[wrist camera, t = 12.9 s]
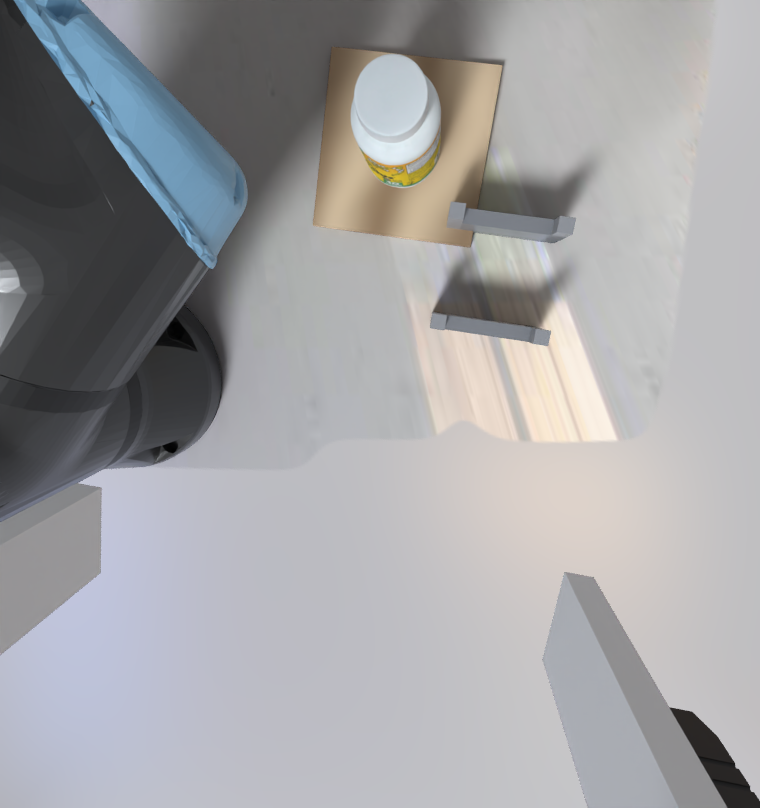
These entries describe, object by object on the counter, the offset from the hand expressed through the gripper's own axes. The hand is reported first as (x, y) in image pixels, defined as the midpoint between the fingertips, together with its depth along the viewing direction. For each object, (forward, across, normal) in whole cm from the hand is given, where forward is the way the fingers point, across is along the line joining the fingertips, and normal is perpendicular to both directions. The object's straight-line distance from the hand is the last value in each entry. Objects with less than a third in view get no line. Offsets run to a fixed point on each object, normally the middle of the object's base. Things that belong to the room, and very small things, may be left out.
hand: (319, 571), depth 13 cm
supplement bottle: (+26, -2, +18) cm, 32 cm away
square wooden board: (+27, -2, +18) cm, 32 cm away
